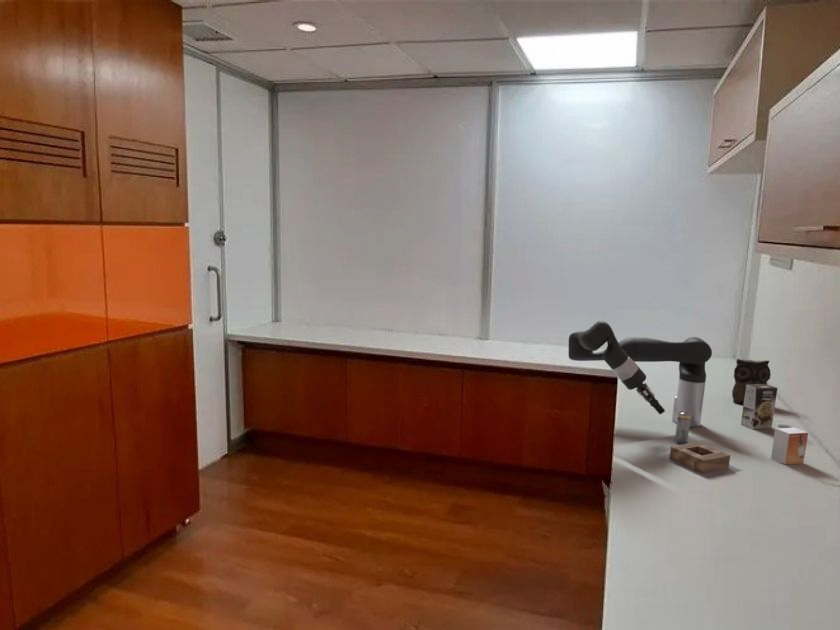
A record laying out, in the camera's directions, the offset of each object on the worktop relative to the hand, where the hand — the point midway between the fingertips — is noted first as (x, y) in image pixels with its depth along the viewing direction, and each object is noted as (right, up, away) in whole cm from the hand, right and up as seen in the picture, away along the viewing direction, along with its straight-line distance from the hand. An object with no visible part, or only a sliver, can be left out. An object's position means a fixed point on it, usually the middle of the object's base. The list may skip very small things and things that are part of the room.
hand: (659, 408), depth 204 cm
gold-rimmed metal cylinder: (+8, -13, +2) cm, 16 cm away
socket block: (+6, -14, -16) cm, 23 cm away
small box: (+39, -16, -7) cm, 43 cm away
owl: (+63, -7, +61) cm, 88 cm away
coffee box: (+48, -11, +28) cm, 57 cm away
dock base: (+6, -16, -16) cm, 23 cm away
